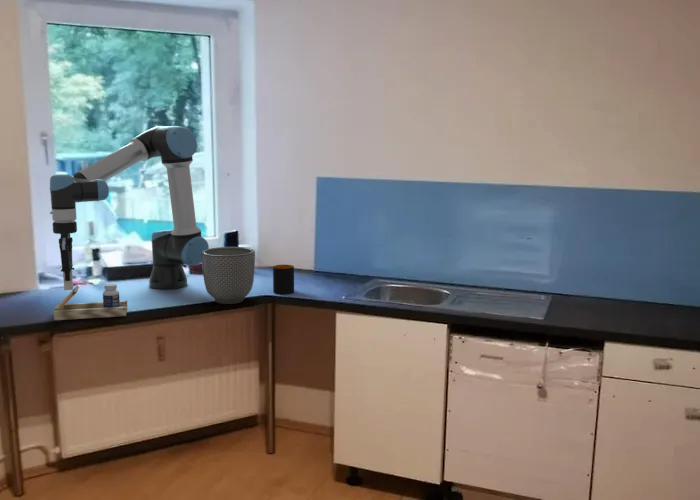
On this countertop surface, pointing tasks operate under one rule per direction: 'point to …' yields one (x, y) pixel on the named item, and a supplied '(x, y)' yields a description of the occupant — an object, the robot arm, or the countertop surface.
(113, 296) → the pill bottle
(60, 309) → the wooden tray
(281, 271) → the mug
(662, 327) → the countertop surface
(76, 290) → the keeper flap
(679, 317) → the countertop surface
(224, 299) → the planter
